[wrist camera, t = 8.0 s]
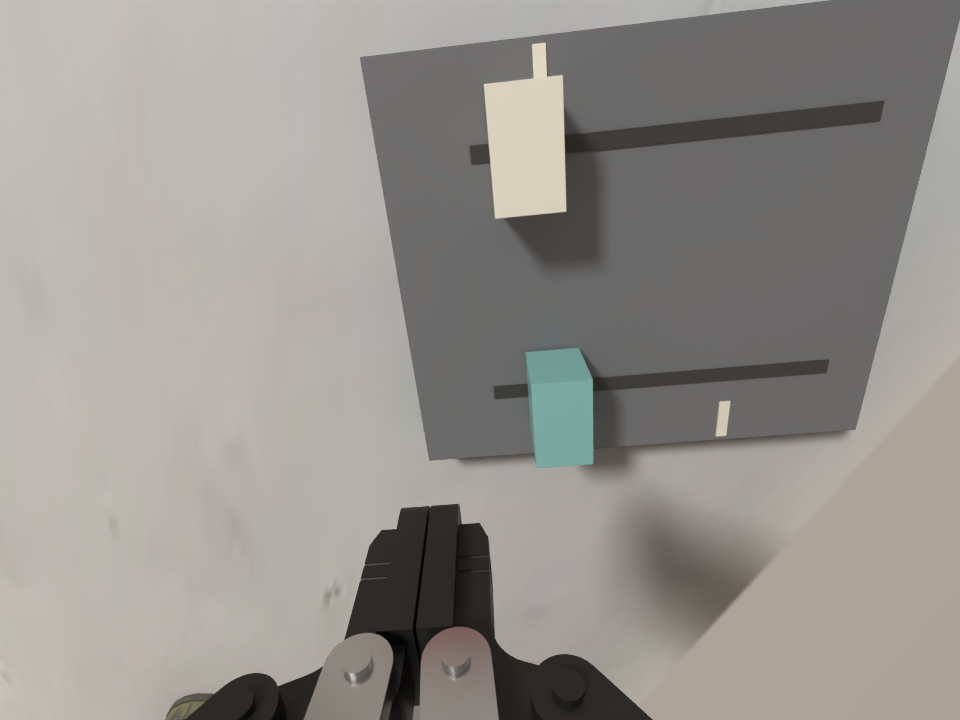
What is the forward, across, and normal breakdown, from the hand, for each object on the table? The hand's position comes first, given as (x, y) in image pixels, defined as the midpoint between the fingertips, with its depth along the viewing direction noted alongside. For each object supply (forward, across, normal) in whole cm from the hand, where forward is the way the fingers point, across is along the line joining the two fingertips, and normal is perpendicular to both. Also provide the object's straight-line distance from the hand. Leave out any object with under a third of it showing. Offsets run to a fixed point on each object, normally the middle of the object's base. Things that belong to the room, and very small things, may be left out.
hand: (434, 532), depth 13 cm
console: (+18, -10, -3) cm, 21 cm away
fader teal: (+15, -5, +4) cm, 17 cm away
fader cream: (+15, -4, -9) cm, 18 cm away
